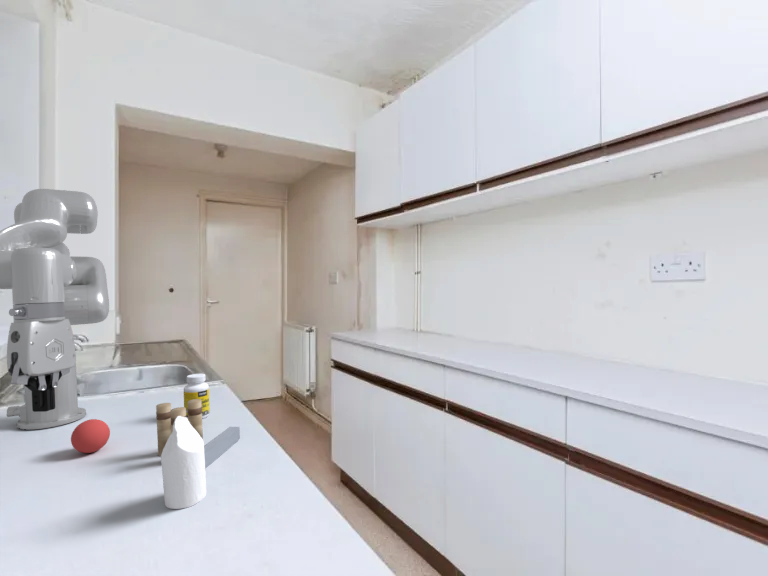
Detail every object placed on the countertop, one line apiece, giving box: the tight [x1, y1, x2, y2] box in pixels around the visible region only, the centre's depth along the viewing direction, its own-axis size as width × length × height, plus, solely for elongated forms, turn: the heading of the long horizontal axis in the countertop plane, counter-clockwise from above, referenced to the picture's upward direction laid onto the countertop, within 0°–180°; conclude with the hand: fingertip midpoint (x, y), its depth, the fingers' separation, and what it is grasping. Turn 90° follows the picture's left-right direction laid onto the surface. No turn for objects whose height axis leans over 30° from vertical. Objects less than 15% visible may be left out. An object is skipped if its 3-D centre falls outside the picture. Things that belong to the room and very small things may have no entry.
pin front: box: [155, 402, 172, 457], centre depth 76 cm, size 2×2×9 cm
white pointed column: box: [160, 416, 207, 510], centre depth 59 cm, size 6×12×6 cm
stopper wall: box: [204, 426, 241, 469], centre depth 75 cm, size 2×14×2 cm, turn 173°
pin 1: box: [171, 406, 186, 432], centre depth 73 cm, size 2×2×9 cm
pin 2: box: [187, 399, 204, 440], centre depth 78 cm, size 2×2×9 cm
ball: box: [70, 418, 111, 454], centre depth 77 cm, size 6×6×6 cm
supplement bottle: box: [183, 373, 210, 420], centre depth 96 cm, size 5×5×10 cm
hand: (44, 410), depth 78 cm, fingers closed
